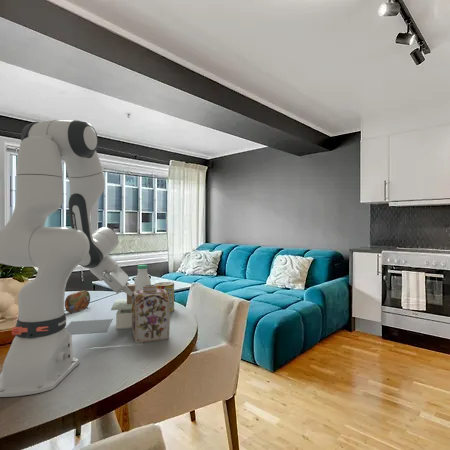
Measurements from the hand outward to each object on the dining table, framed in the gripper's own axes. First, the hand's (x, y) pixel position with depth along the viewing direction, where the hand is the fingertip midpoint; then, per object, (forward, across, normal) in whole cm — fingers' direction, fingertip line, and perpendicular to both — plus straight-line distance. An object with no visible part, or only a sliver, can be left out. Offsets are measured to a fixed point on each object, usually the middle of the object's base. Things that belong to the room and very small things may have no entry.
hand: (132, 293), depth 125 cm
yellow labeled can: (+18, +19, 0) cm, 26 cm away
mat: (-3, 0, +20) cm, 21 cm away
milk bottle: (+11, +26, +7) cm, 29 cm away
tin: (-10, +27, +28) cm, 40 cm away
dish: (+8, 0, +9) cm, 12 cm away
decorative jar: (+14, -14, +4) cm, 20 cm away
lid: (+3, 0, +4) cm, 4 cm away
